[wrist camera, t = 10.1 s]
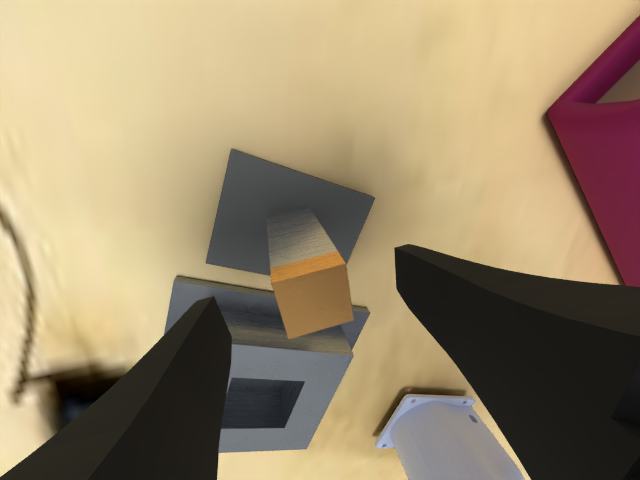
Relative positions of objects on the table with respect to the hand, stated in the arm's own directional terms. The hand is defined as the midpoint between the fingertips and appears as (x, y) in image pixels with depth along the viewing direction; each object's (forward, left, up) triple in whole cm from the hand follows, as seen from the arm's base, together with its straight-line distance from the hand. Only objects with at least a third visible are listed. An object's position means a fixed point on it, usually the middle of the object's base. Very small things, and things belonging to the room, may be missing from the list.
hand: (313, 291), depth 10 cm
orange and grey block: (0, 0, -7) cm, 7 cm away
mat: (0, 0, -7) cm, 7 cm away
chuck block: (-1, +11, -7) cm, 13 cm away
